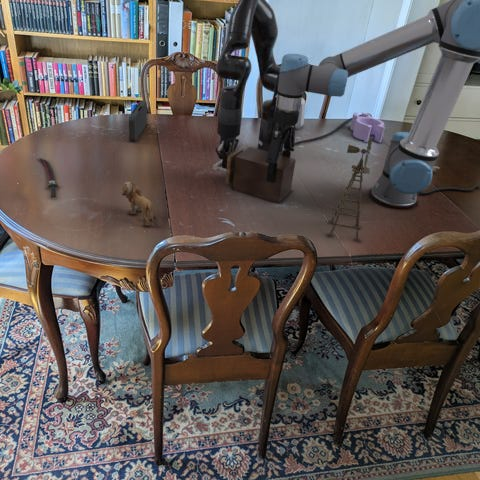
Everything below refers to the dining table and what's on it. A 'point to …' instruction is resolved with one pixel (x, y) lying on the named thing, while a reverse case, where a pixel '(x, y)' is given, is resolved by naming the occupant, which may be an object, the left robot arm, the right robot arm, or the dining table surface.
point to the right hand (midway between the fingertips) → (277, 175)
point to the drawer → (229, 166)
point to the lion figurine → (137, 201)
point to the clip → (367, 127)
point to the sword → (52, 181)
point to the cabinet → (262, 175)
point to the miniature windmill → (356, 171)
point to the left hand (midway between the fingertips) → (225, 169)
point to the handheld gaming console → (137, 120)
